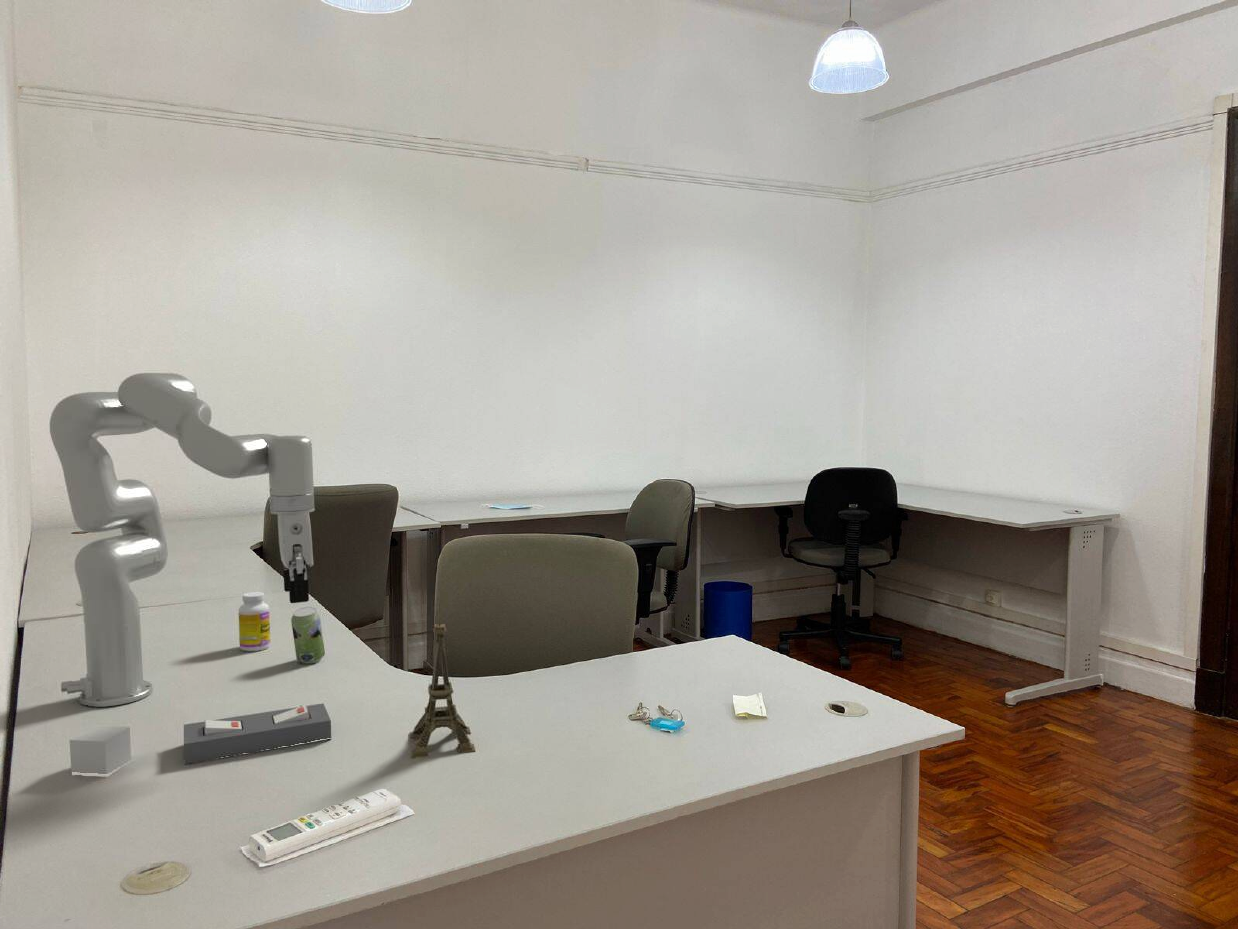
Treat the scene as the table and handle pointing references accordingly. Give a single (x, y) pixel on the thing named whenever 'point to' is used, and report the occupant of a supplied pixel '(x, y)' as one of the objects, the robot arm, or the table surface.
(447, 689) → the eiffel tower
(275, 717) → the right rocker
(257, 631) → the supplement bottle
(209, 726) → the left rocker
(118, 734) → the pale grey cube
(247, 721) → the rocker switch panel
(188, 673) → the table surface
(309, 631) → the beverage can
